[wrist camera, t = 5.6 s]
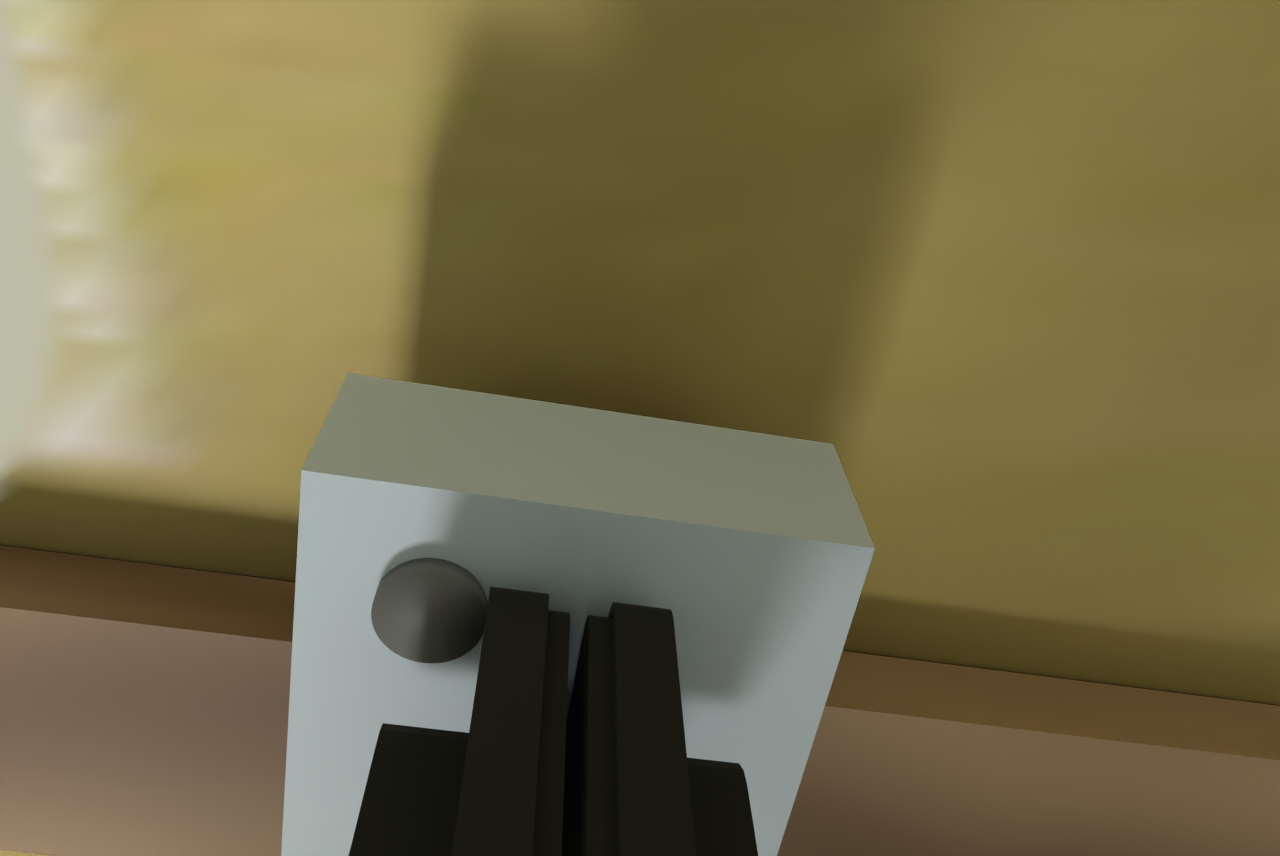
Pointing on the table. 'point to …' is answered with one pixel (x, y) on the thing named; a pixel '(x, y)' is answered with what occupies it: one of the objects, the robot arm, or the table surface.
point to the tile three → (558, 577)
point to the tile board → (820, 817)
